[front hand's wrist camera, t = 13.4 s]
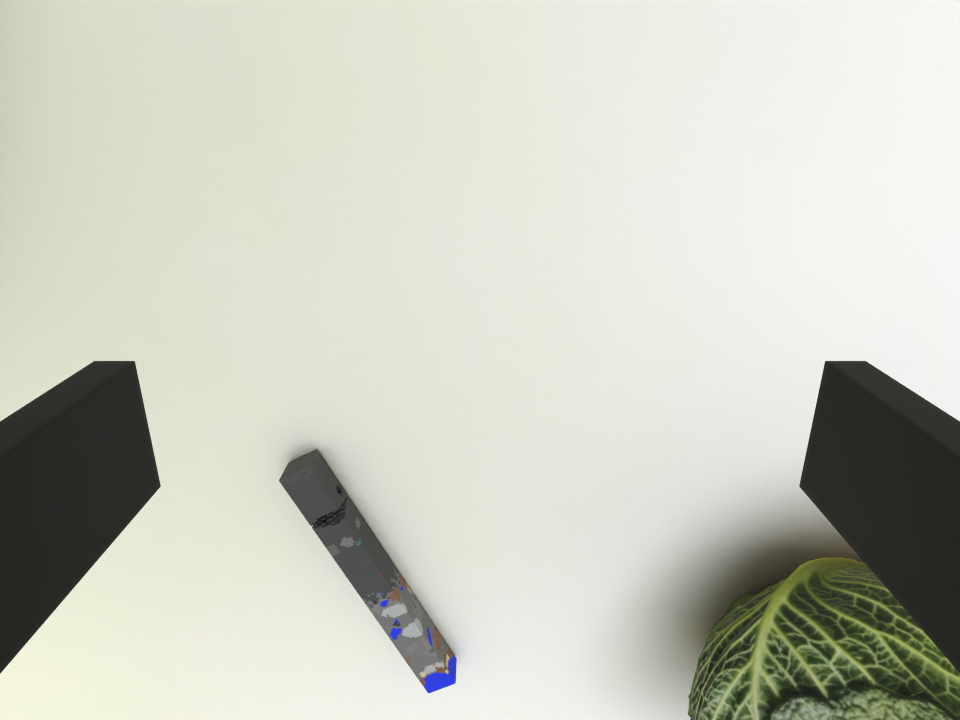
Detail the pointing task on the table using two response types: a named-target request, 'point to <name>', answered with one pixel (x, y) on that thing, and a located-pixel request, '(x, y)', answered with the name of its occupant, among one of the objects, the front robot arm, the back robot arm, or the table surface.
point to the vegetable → (823, 654)
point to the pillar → (369, 569)
